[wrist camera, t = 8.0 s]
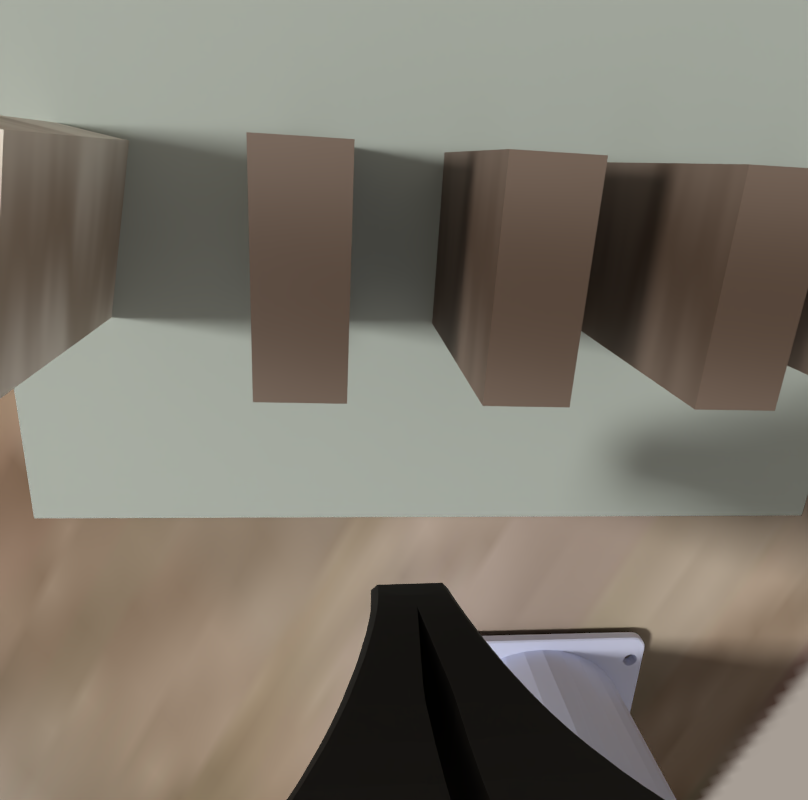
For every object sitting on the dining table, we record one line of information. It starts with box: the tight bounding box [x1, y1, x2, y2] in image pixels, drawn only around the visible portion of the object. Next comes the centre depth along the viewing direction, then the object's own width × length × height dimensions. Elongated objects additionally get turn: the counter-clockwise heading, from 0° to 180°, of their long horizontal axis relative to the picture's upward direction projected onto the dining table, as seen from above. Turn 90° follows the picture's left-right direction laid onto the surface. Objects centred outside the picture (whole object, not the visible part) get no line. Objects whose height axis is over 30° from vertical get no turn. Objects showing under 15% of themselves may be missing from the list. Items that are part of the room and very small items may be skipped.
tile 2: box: [581, 162, 808, 411], centre depth 16 cm, size 5×2×7 cm, turn 177°
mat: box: [0, 0, 808, 518], centre depth 19 cm, size 16×26×1 cm, turn 87°
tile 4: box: [246, 132, 355, 404], centre depth 15 cm, size 5×2×7 cm, turn 177°
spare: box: [0, 115, 129, 398], centre depth 14 cm, size 5×2×7 cm, turn 166°
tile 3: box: [432, 149, 608, 408], centre depth 16 cm, size 5×2×7 cm, turn 177°
